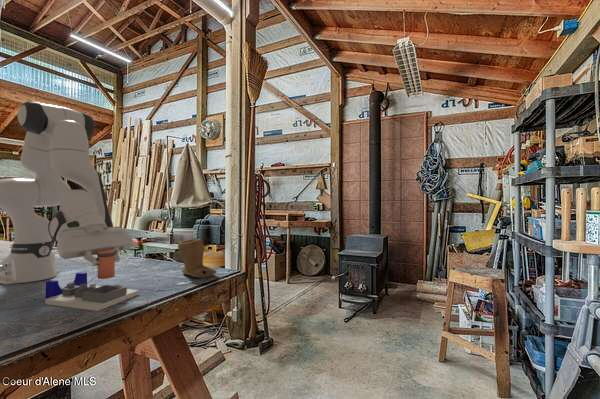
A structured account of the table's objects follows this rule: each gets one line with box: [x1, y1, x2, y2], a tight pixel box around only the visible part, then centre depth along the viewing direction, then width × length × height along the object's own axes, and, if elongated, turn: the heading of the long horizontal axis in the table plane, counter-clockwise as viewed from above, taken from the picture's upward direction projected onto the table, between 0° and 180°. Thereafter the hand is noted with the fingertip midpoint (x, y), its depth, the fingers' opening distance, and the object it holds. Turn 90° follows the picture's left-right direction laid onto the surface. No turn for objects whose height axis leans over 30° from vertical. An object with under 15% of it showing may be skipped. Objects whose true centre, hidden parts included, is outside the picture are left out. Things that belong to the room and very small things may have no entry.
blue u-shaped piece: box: [45, 271, 88, 299], centre depth 102 cm, size 12×4×6 cm, turn 169°
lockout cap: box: [96, 250, 116, 280], centre depth 94 cm, size 5×5×8 cm
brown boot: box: [177, 238, 217, 279], centre depth 127 cm, size 15×12×15 cm
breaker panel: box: [44, 281, 139, 312], centre depth 97 cm, size 20×15×5 cm
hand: (107, 262), depth 93 cm, fingers closed on lockout cap, 4 cm apart
